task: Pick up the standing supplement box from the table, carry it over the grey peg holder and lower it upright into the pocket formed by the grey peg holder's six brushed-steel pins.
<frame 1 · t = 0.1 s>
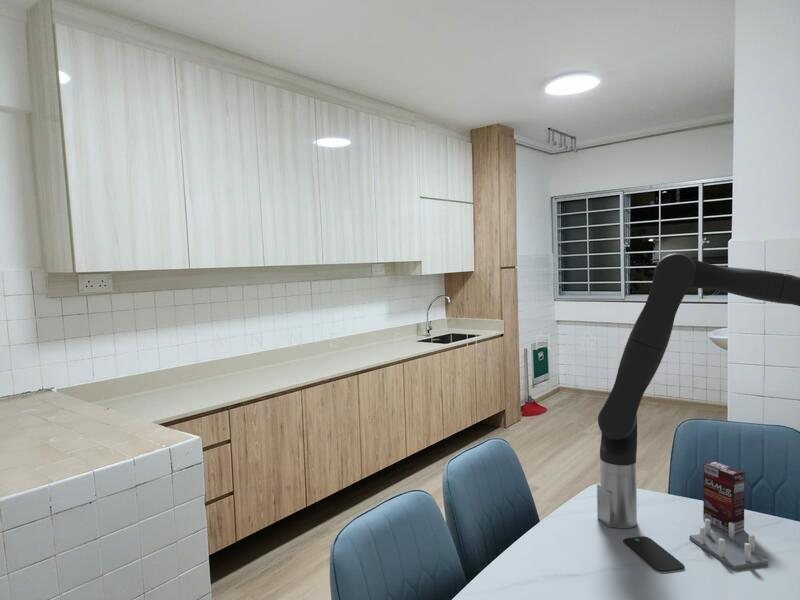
smartphone: (652, 556, 126), on the table
supplement box: (723, 526, 139), on the table
grey peg holder: (726, 551, 126), on the table
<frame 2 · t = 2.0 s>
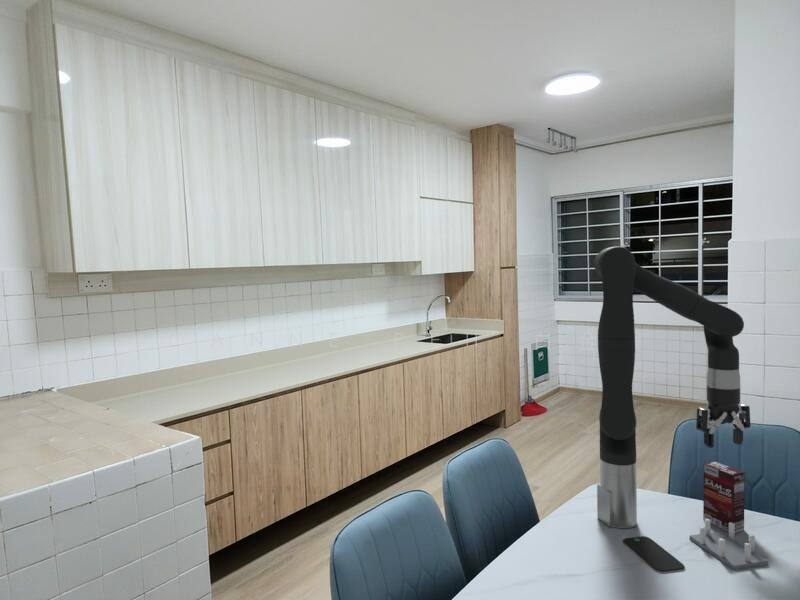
hand: (723, 445, 137), 22 cm above the table, tool pointing down, fingers open, 8 cm apart
nothing on the table moved.
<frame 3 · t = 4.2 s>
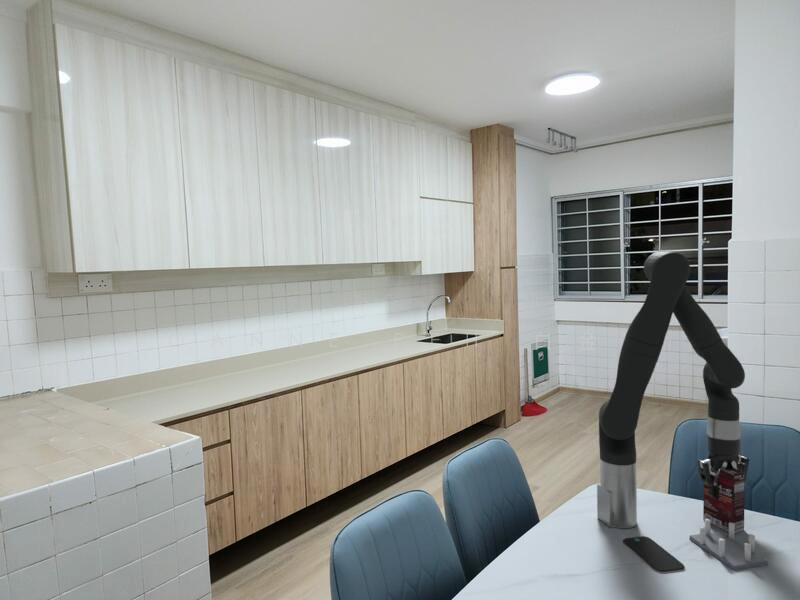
hand: (723, 496, 138), 8 cm above the table, tool pointing down, fingers closed on supplement box, 5 cm apart
supplement box: (723, 526, 139), on the table, touching gripper
everything else where it was.
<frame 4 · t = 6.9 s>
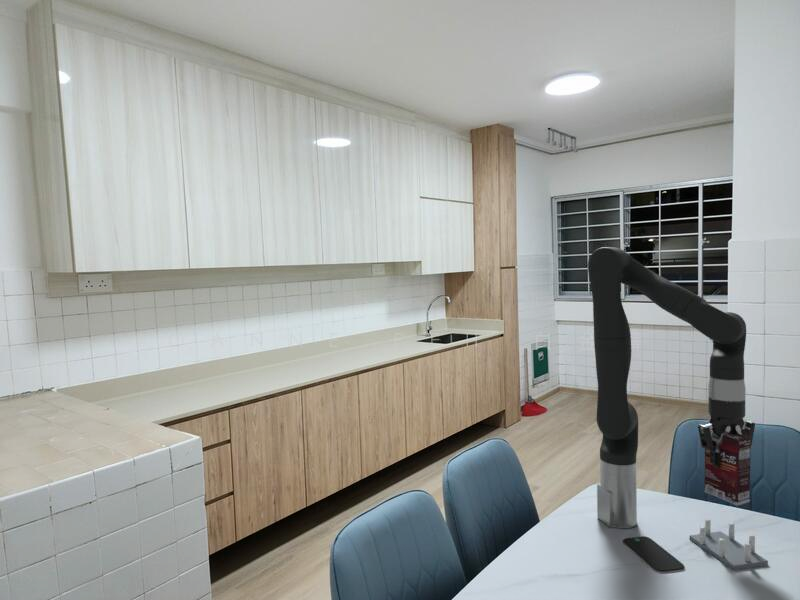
hand: (726, 465, 125), 21 cm above the table, tool pointing down, fingers closed on supplement box, 5 cm apart
supplement box: (726, 498, 126), point 13 cm above the table, touching gripper
everything else where it was.
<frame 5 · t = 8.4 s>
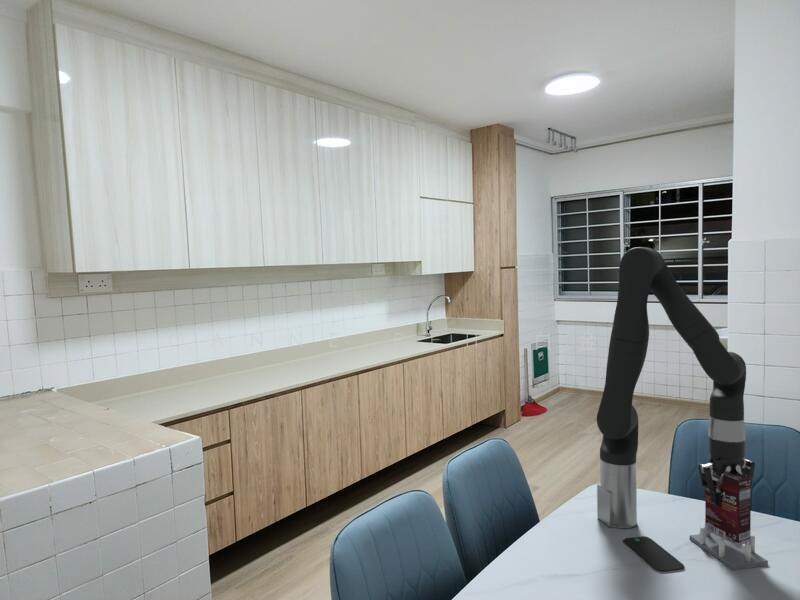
hand: (726, 504, 126), 12 cm above the table, tool pointing down, fingers closed on supplement box, 5 cm apart
supplement box: (727, 537, 126), point 4 cm above the table, touching gripper
everything else where it was.
when the fingers open (10 cm above the table, at t = 9.7 s): supplement box drops 1 cm, resting on grey peg holder.
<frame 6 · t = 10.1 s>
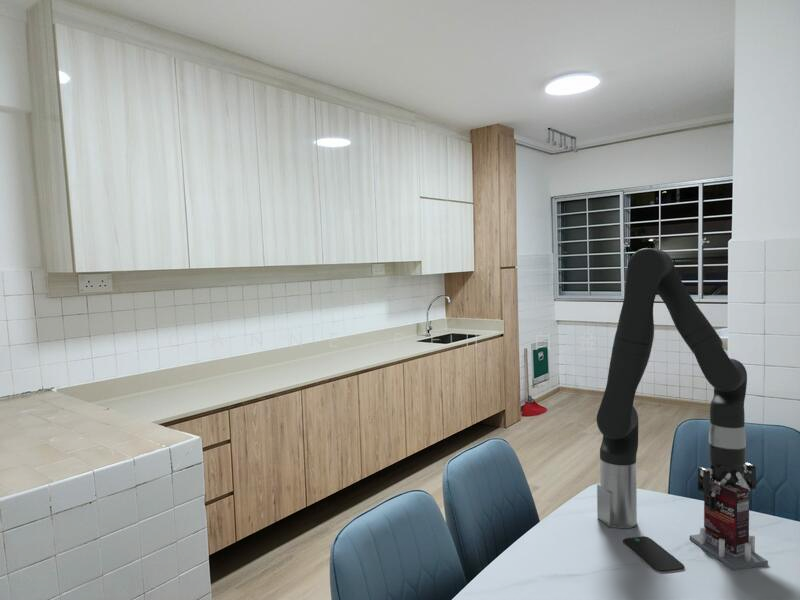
hand: (726, 508, 126), 11 cm above the table, tool pointing down, fingers open, 8 cm apart
supplement box: (725, 548, 126), point 1 cm above the table, touching grey peg holder
everything else where it was.
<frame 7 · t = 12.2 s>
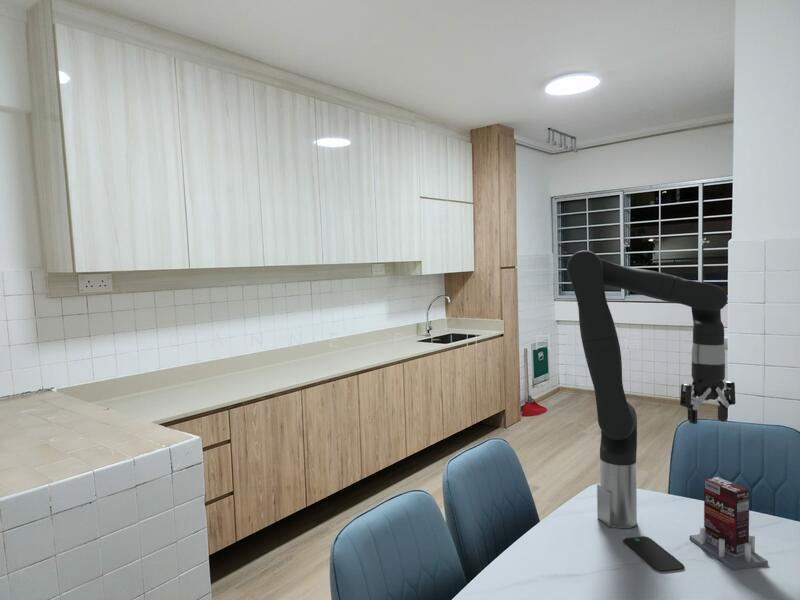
hand: (707, 422, 136), 29 cm above the table, tool pointing down, fingers open, 8 cm apart
nothing on the table moved.
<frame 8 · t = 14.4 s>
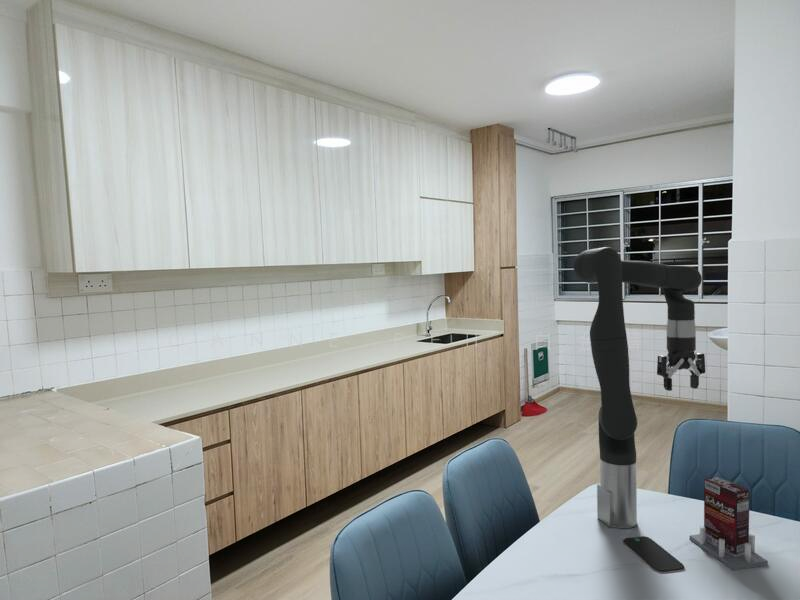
hand: (681, 389, 154), 33 cm above the table, tool pointing down, fingers open, 8 cm apart
nothing on the table moved.
at the end: supplement box 0.3 cm from the grey peg holder (horizontally); supplement box tilted 0°; supplement box point 0.8 cm above the table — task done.
